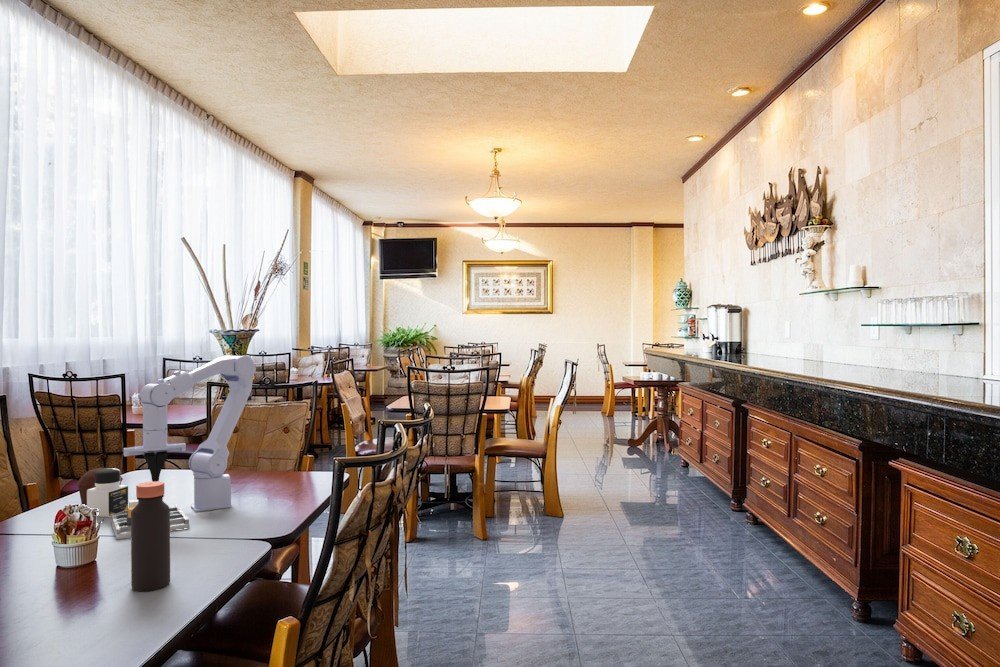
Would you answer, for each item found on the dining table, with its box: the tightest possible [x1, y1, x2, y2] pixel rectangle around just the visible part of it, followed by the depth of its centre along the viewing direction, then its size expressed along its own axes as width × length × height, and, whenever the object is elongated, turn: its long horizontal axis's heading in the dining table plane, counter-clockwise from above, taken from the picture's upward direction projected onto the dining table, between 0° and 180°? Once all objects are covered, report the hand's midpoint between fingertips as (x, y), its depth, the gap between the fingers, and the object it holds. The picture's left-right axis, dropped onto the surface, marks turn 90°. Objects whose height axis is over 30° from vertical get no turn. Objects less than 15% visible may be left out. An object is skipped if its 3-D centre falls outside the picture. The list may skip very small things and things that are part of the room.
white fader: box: [126, 499, 138, 516], centre depth 176 cm, size 3×3×4 cm
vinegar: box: [130, 480, 171, 592], centre depth 134 cm, size 7×7×20 cm
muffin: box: [76, 467, 124, 505], centre depth 196 cm, size 12×11×10 cm
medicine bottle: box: [87, 467, 129, 518], centre depth 186 cm, size 7×7×12 cm
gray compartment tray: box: [110, 504, 190, 540], centre depth 175 cm, size 16×18×2 cm
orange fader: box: [127, 507, 135, 526], centre depth 169 cm, size 3×3×4 cm
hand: (155, 480), depth 179 cm, fingers closed
